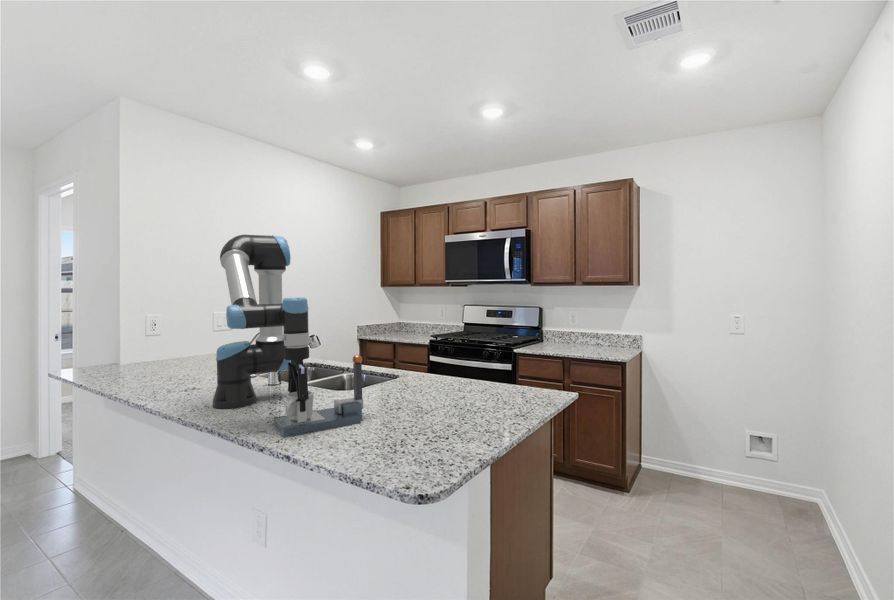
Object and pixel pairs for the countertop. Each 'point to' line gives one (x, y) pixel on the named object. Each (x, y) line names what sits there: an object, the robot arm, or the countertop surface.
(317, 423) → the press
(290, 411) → the cup
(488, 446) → the countertop surface
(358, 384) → the lever
